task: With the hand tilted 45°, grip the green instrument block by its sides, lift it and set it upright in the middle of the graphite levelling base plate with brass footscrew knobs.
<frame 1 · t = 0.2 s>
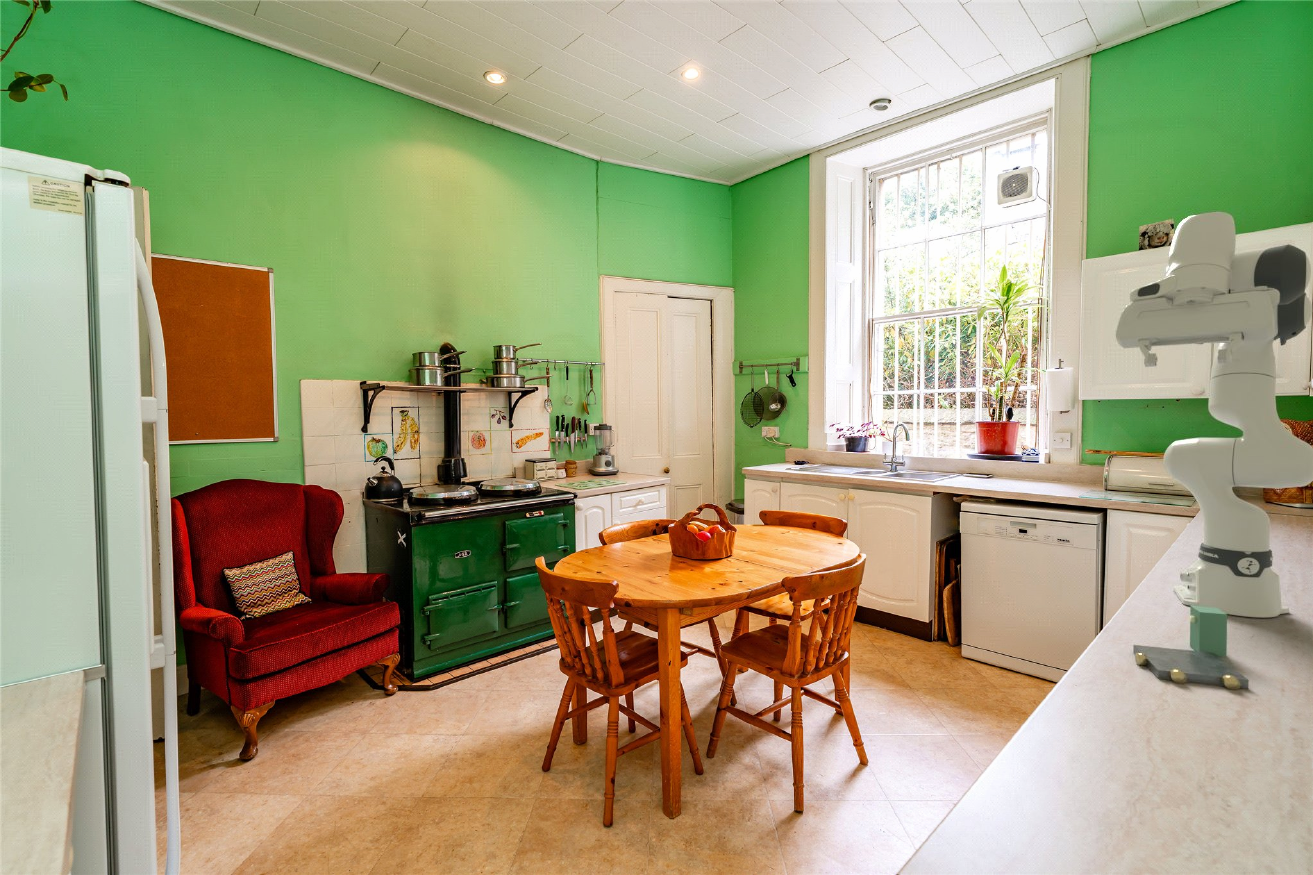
hand: (1185, 363, 102), 54 cm above the table, tool tilted 30°, fingers open, 8 cm apart
instrument block: (1207, 651, 116), on the table
level base plate: (1186, 669, 108), on the table
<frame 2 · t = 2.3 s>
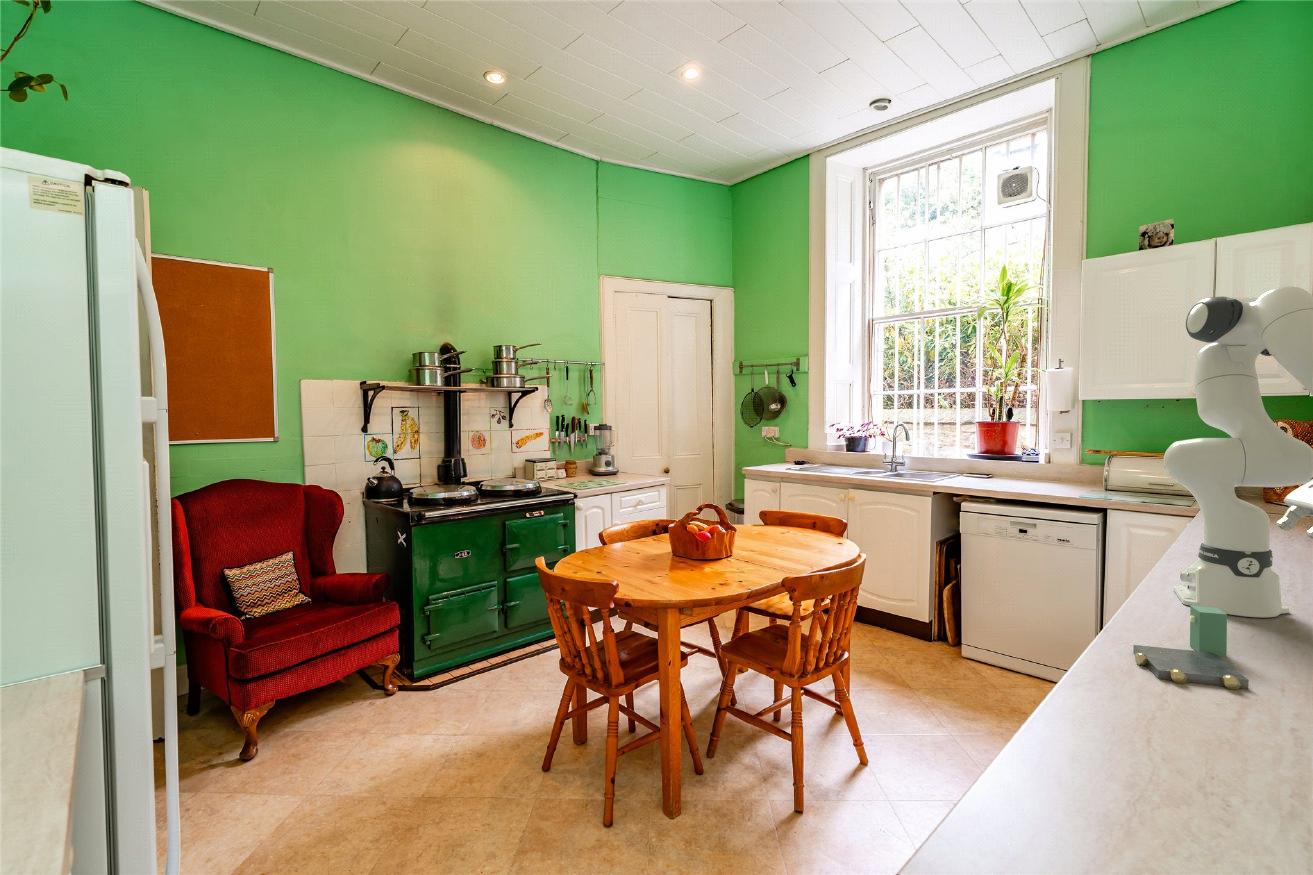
hand: (1295, 532, 110), 23 cm above the table, tool tilted 45°, fingers open, 8 cm apart
nothing on the table moved.
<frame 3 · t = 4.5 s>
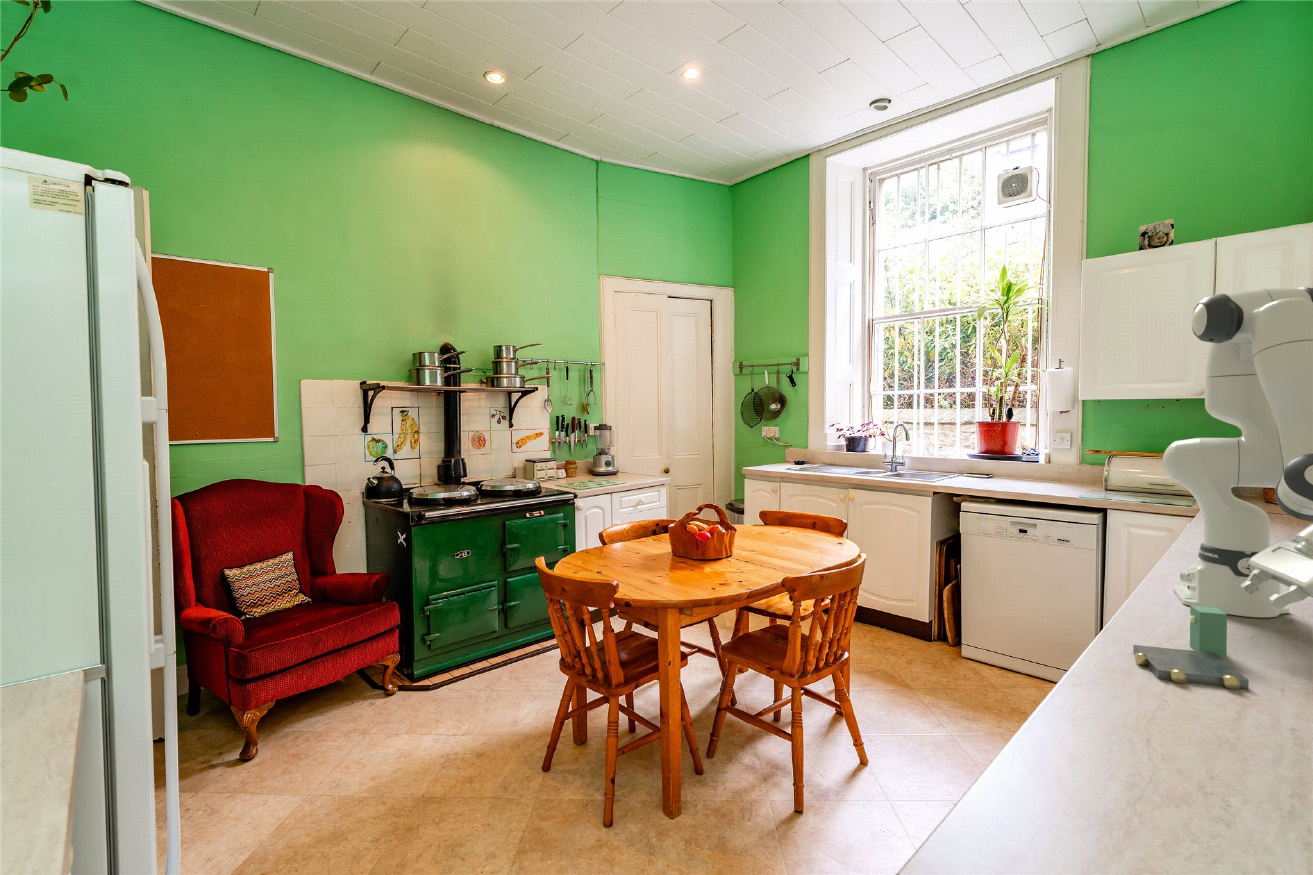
hand: (1258, 597, 113), 11 cm above the table, tool tilted 45°, fingers open, 8 cm apart
nothing on the table moved.
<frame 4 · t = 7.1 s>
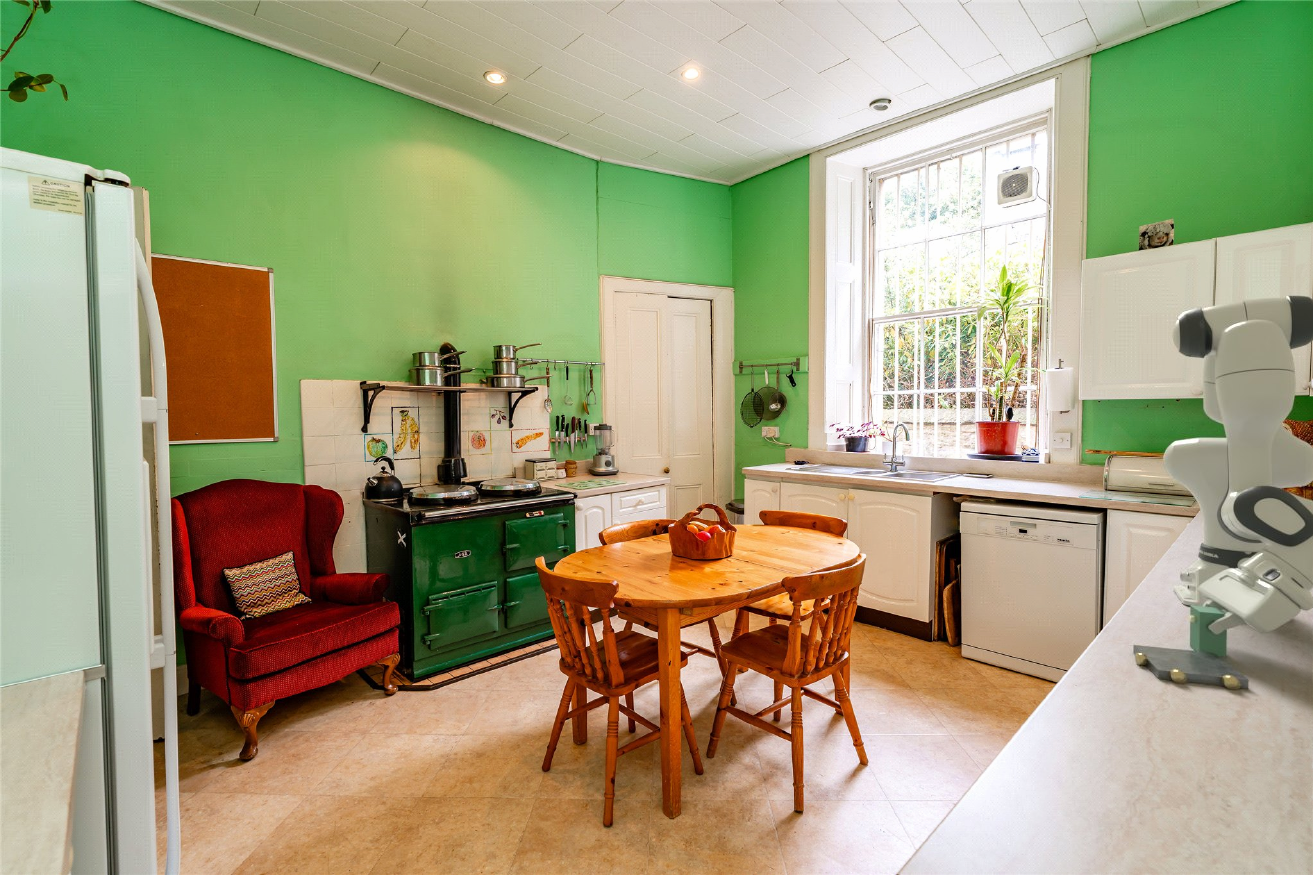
hand: (1203, 625, 116), 5 cm above the table, tool tilted 45°, fingers closed on instrument block, 4 cm apart
instrument block: (1207, 651, 116), on the table, touching gripper
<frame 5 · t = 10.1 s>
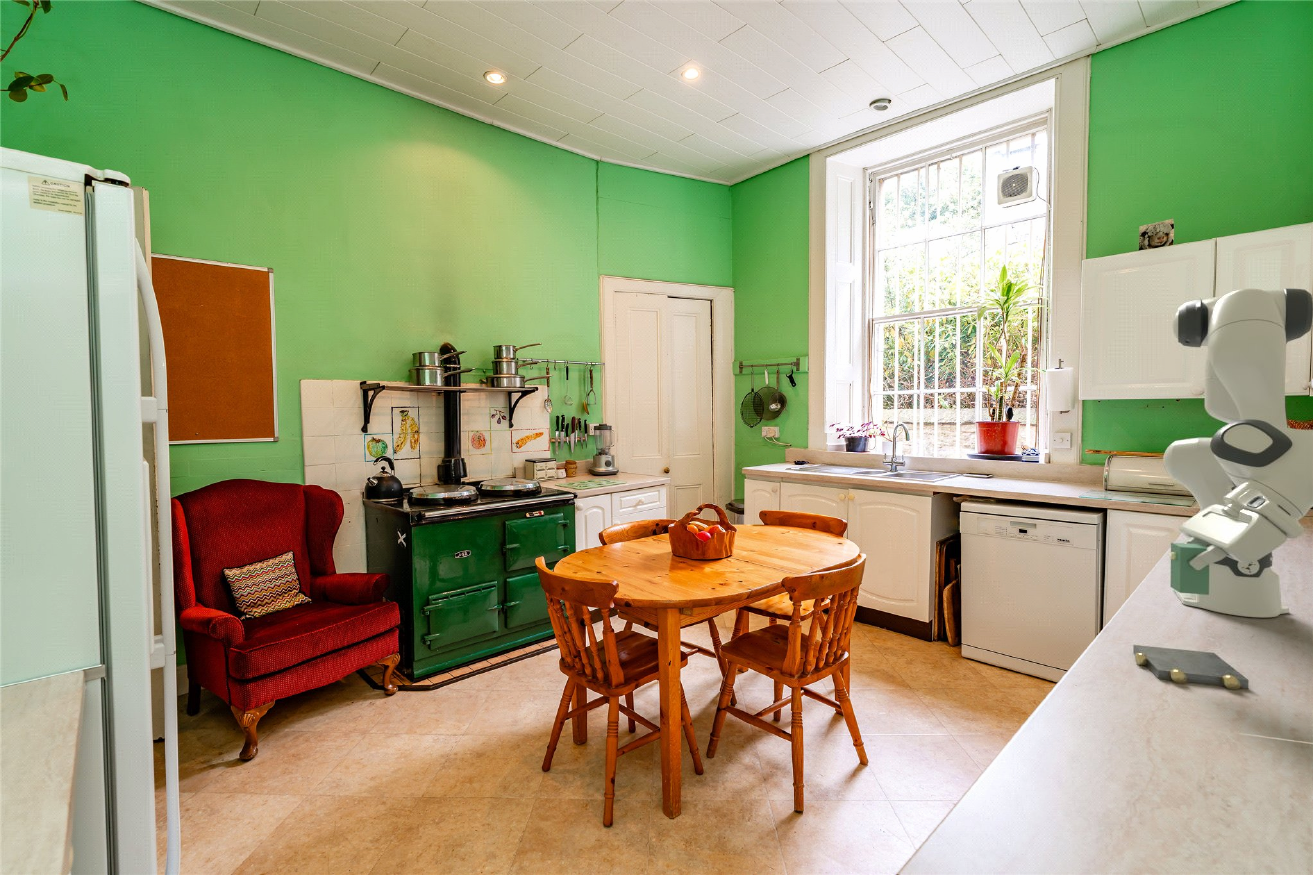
hand: (1184, 562, 108), 19 cm above the table, tool tilted 45°, fingers closed on instrument block, 4 cm apart
instrument block: (1189, 590, 108), point 14 cm above the table, touching gripper
when the fingers open (7 cm above the table, at t = 13.2 s): instrument block stays where it is, resting on level base plate.
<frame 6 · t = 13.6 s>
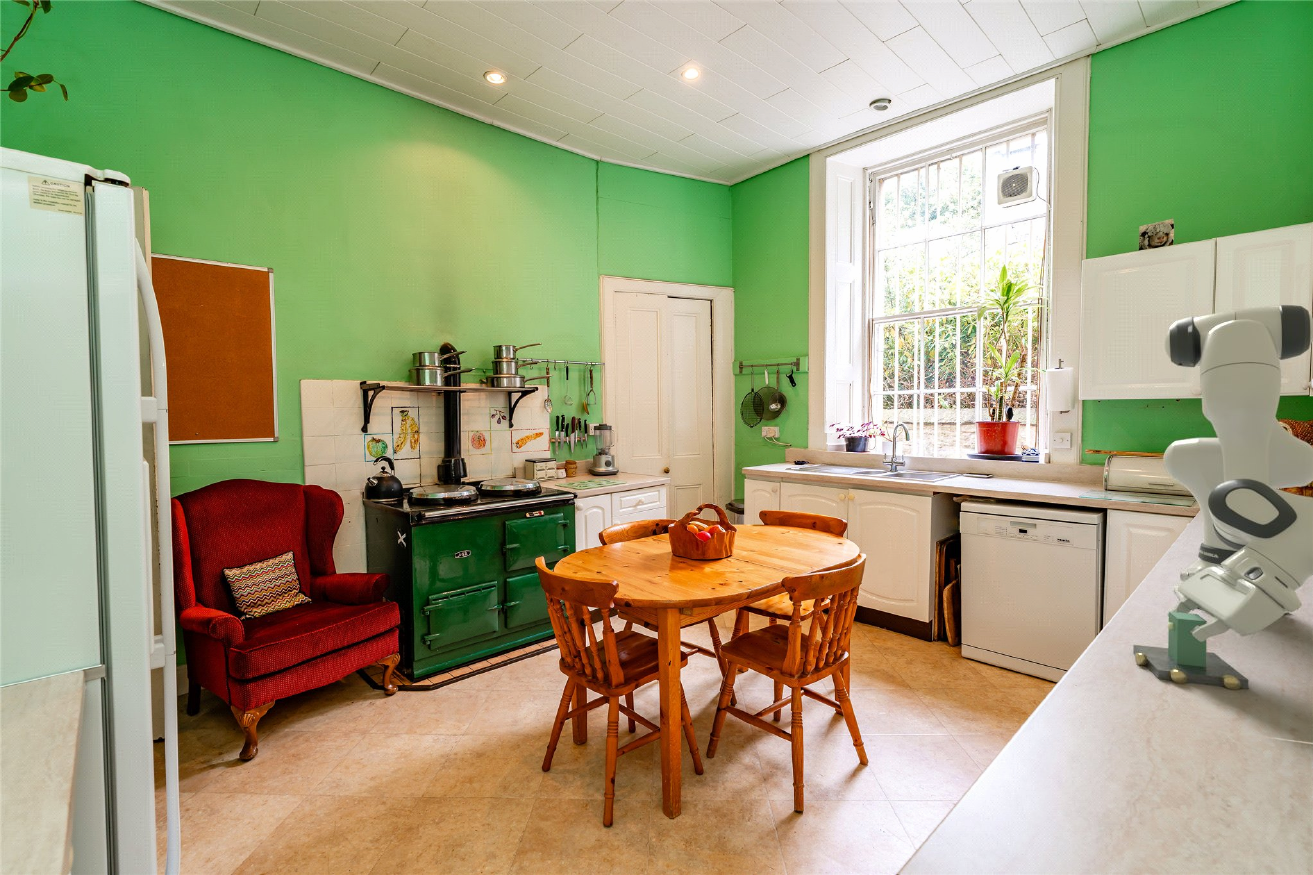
hand: (1182, 627, 108), 7 cm above the table, tool tilted 45°, fingers open, 8 cm apart
instrument block: (1186, 660, 108), point 1 cm above the table, touching level base plate
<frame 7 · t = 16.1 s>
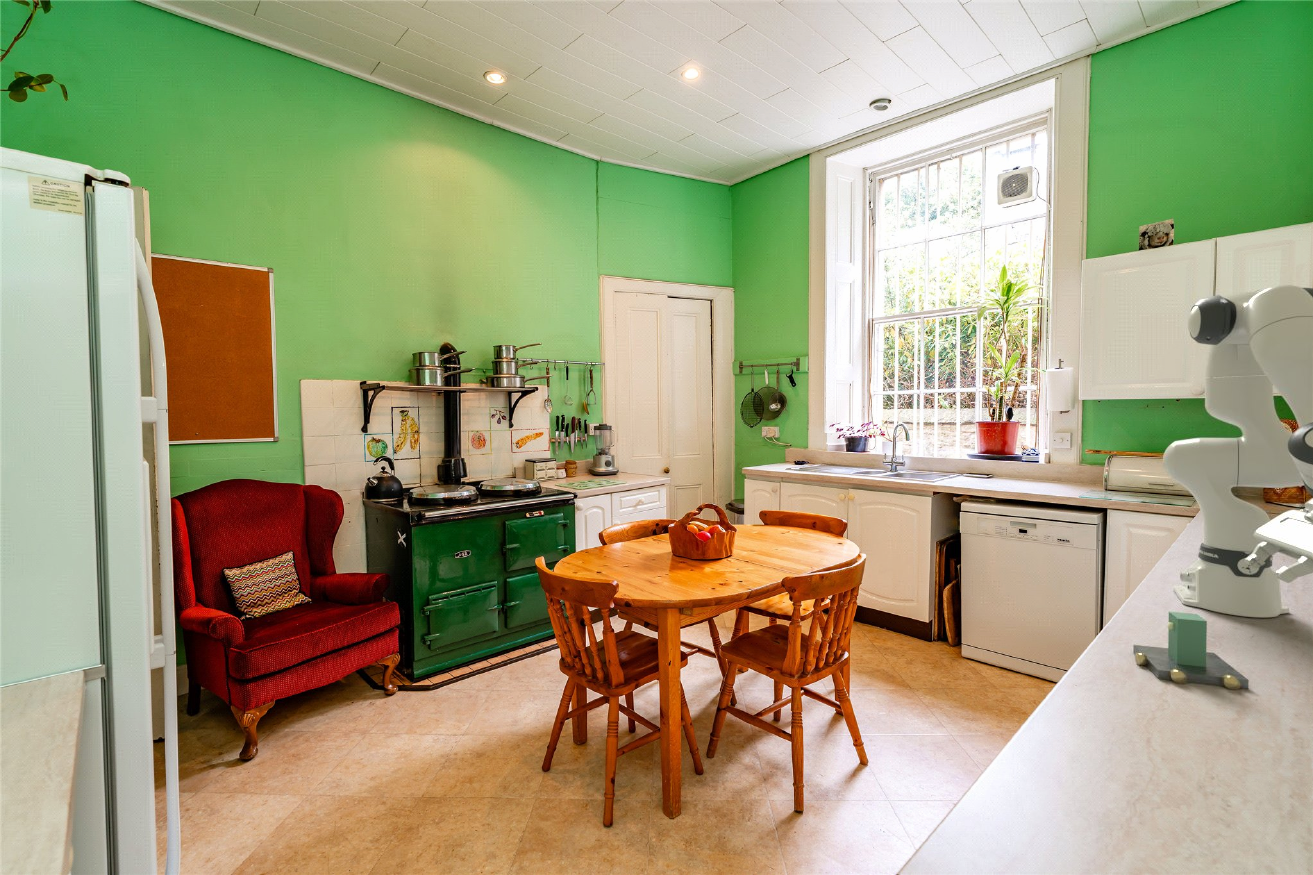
hand: (1264, 571, 104), 18 cm above the table, tool tilted 45°, fingers open, 8 cm apart
nothing on the table moved.
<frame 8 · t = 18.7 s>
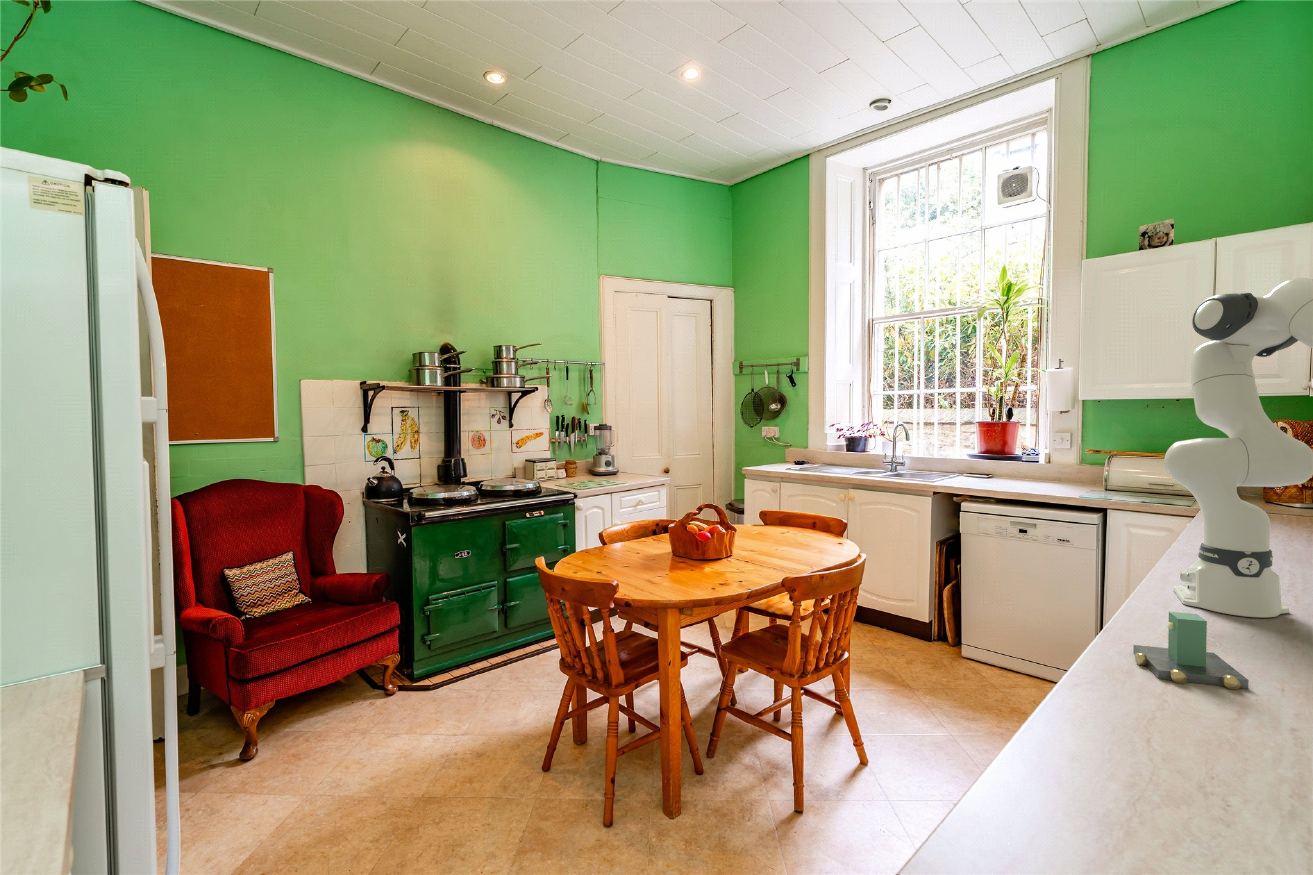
nothing on the table moved.
at the end: instrument block 0.0 cm off-centre on the level base plate, point 1.5 cm above the level base plate's base; instrument block tilted 0°; the gripper is holding nothing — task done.
